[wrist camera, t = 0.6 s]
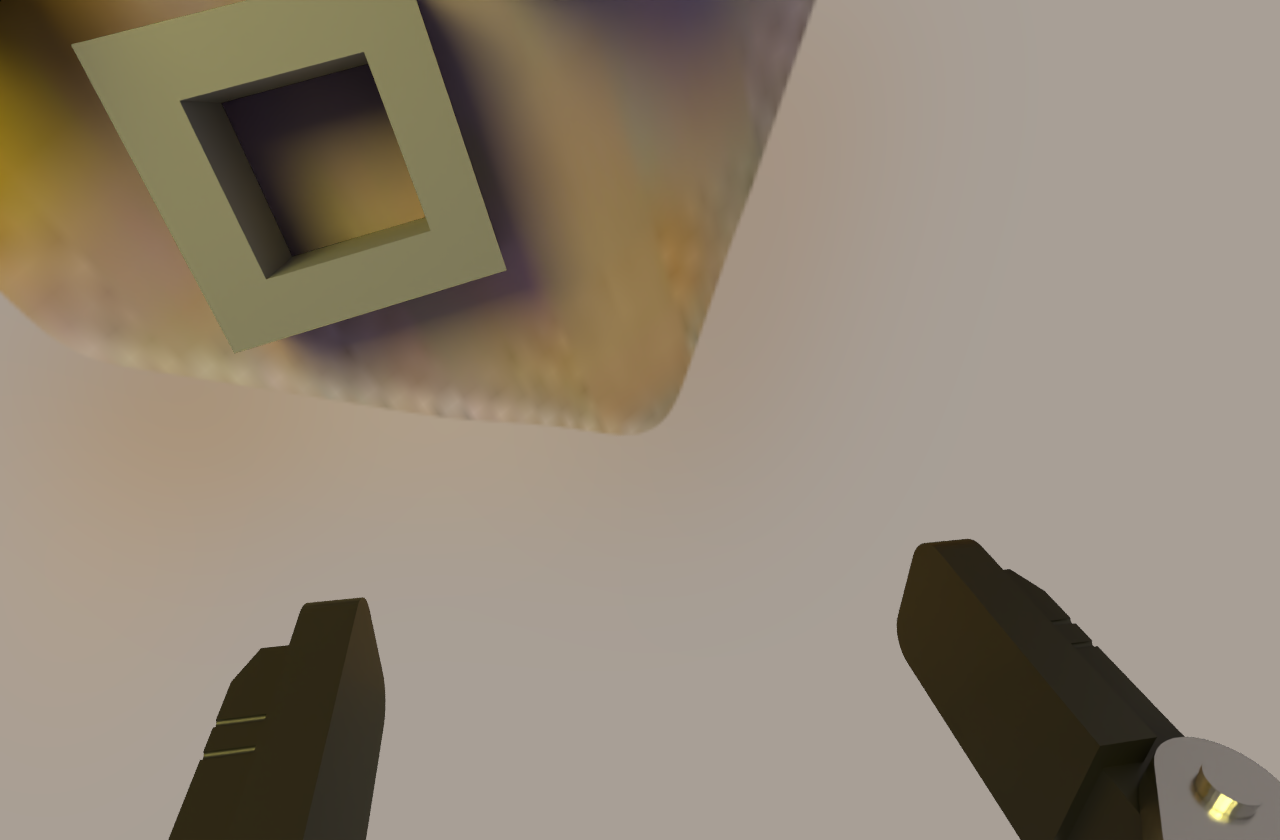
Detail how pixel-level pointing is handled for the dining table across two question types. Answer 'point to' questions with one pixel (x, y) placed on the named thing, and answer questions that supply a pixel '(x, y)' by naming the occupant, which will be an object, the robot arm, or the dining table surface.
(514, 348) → the dining table surface
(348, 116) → the dining table surface
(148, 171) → the socket block
